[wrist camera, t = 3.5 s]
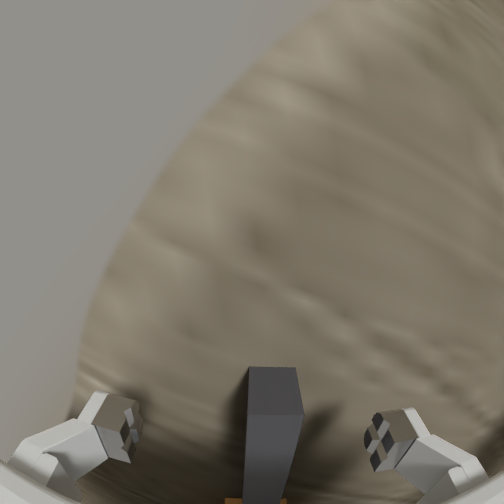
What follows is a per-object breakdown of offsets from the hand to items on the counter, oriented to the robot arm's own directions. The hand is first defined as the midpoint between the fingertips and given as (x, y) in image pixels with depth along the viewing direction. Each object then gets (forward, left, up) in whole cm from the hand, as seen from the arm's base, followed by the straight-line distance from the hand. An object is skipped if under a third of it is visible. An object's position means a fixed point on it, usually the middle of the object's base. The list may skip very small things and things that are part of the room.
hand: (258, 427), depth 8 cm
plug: (+9, +1, -4) cm, 10 cm away
